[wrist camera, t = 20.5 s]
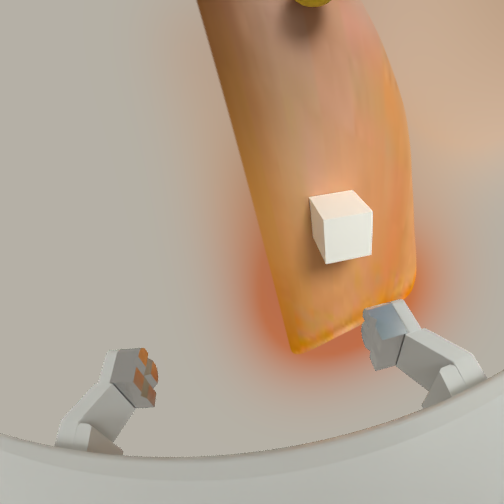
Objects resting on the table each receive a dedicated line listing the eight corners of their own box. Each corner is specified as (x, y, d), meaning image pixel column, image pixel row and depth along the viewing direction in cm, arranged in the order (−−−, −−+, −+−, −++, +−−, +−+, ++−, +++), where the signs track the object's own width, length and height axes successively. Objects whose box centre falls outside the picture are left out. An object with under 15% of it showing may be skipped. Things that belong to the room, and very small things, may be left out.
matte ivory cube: (309, 197, 45) (323, 220, 39) (352, 189, 45) (372, 211, 38) (312, 236, 49) (325, 264, 42) (353, 229, 49) (371, 254, 42)
